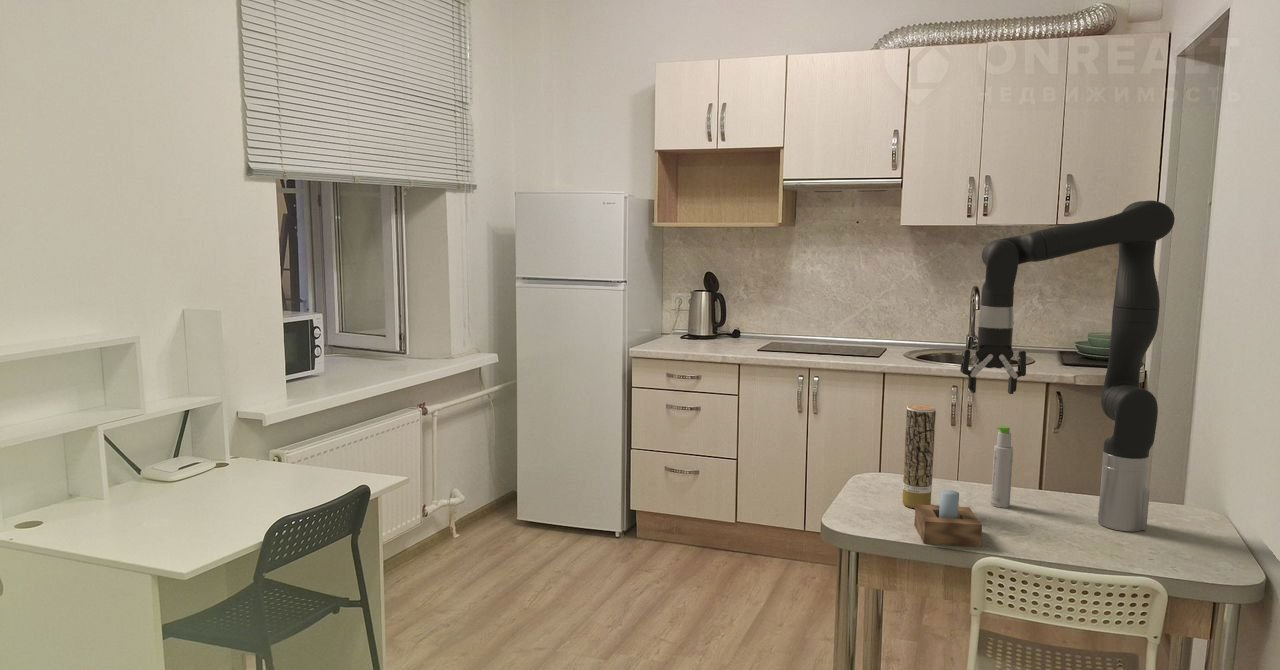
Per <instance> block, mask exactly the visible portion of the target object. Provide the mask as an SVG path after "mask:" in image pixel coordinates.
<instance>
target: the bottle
mask: <svg viewBox="0 0 1280 670" xmlns="http://www.w3.org/2000/svg"><path fill="white" fill-rule="evenodd" d="M996 429H998V430H999V431H998V432H997V439H996V441H997V442H996V444H995V445H994V446H993V461H992V463H993V464H992V476H991V477H992V480H991V491H990V492H991V495H990V505H991V506H993V507H995V506H996V508H1000V507H1002V508H1003V509H1005V508H1006V509H1007V508H1009V507H1010V506H1011V505H1010V504H1011V490H1012V489H1011V488H1012V487H1011V486H1012V476H1013V475H1012V474H1013V473H1012V472H1013V460H1014V458H1013V457H1014V447H1013V446H1012V433H1011V431H1010V427H1009V426H1003V425H1002V426H999V427H996Z"/></svg>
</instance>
